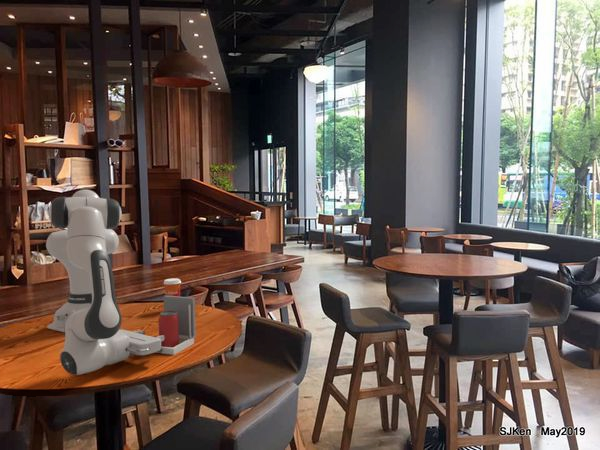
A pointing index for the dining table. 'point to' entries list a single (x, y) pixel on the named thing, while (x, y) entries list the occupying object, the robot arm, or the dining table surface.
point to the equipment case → (181, 322)
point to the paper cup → (172, 287)
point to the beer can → (169, 328)
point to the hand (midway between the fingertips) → (152, 335)
